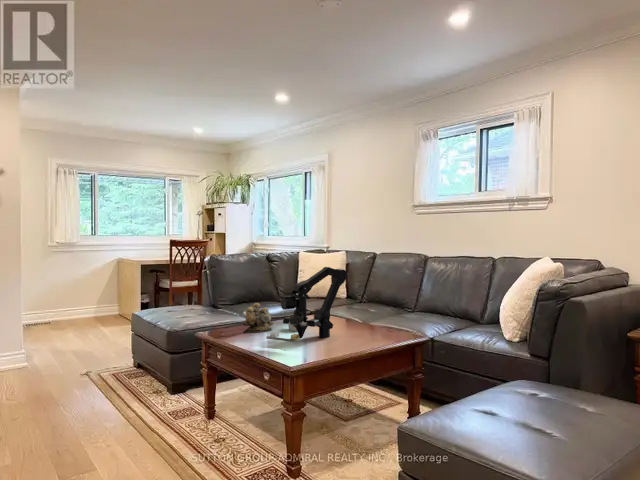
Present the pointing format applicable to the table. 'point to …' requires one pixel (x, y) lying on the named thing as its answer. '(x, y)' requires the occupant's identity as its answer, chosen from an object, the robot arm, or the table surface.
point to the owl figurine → (257, 319)
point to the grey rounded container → (291, 327)
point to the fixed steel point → (274, 334)
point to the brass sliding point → (295, 337)
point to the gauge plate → (280, 338)
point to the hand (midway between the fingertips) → (300, 338)
